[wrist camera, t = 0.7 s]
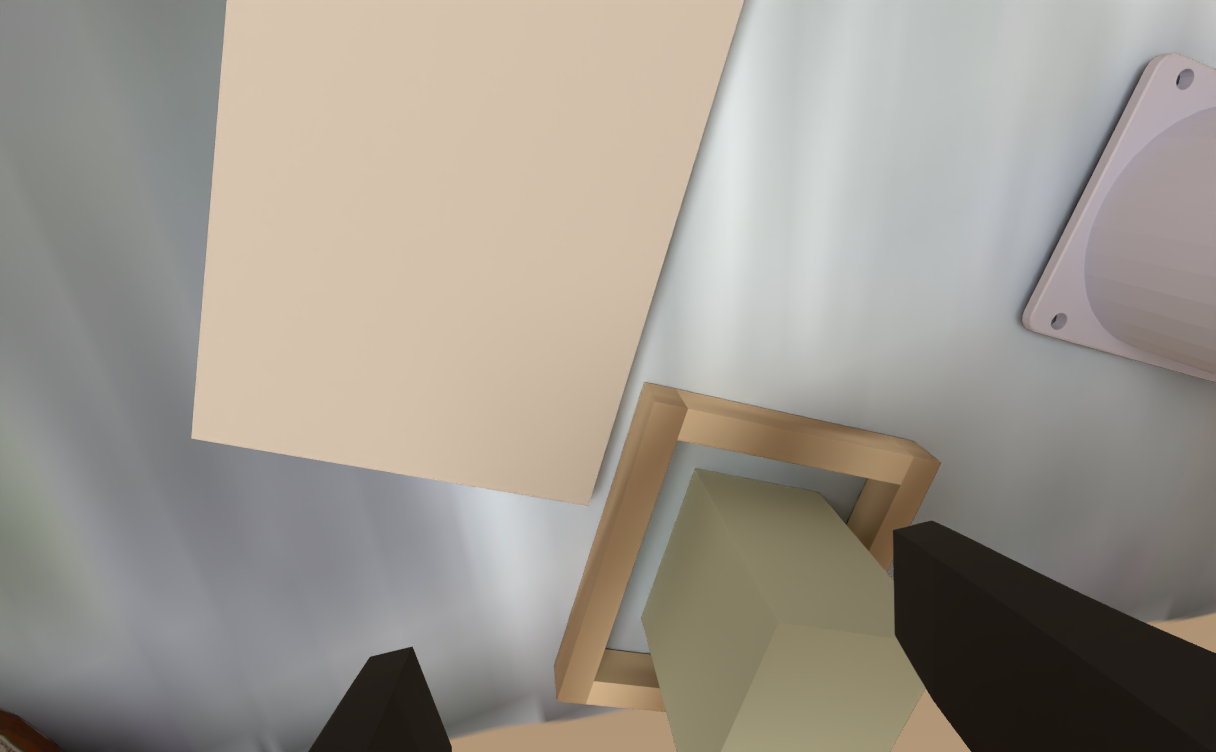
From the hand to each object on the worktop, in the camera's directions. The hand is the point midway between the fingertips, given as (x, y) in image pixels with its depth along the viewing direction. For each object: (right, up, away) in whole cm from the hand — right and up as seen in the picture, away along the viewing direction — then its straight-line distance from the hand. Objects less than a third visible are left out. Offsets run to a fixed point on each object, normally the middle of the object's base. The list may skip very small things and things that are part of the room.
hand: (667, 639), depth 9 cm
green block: (+3, -2, +13) cm, 13 cm away
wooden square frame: (+3, -2, +12) cm, 13 cm away
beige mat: (-5, +8, +7) cm, 12 cm away
